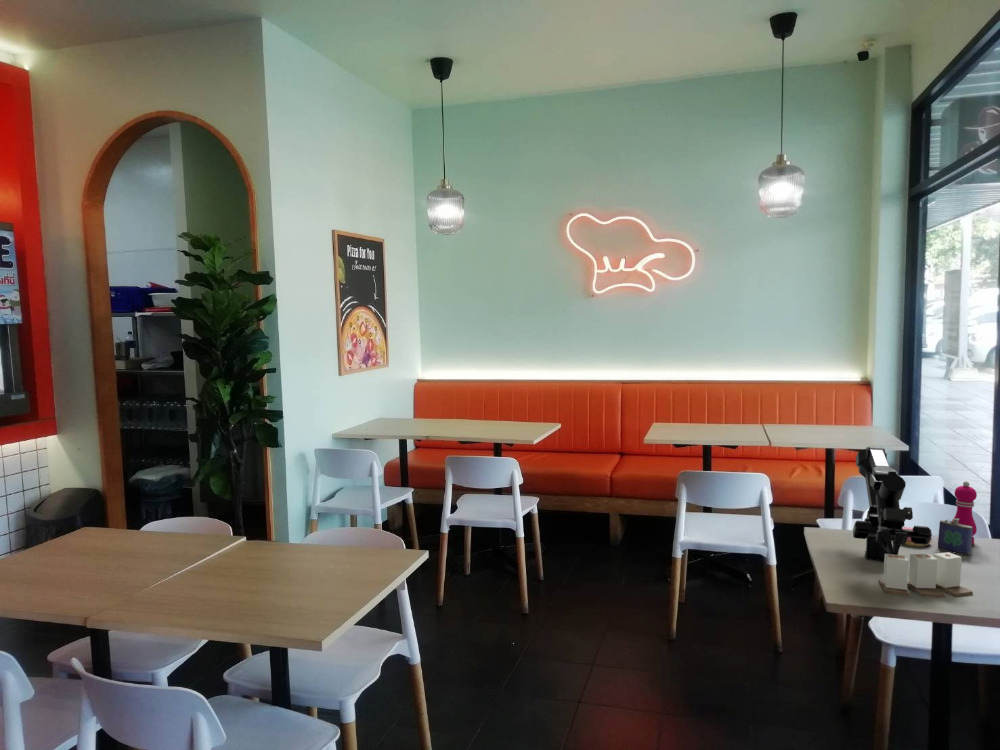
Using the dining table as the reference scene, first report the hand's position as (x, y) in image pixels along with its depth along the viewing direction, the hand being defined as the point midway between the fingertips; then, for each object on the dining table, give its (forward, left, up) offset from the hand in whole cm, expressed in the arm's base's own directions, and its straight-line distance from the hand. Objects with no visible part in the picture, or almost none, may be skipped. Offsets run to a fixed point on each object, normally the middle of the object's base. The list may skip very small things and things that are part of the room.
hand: (894, 560), depth 193 cm
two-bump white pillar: (+7, +1, -7) cm, 10 cm away
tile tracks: (+8, +2, -7) cm, 11 cm away
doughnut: (+9, +44, -8) cm, 46 cm away
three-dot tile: (0, -2, -7) cm, 8 cm away
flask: (+20, +39, -7) cm, 45 cm away
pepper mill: (+24, +51, -7) cm, 57 cm away
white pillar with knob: (+13, +5, -7) cm, 16 cm away
